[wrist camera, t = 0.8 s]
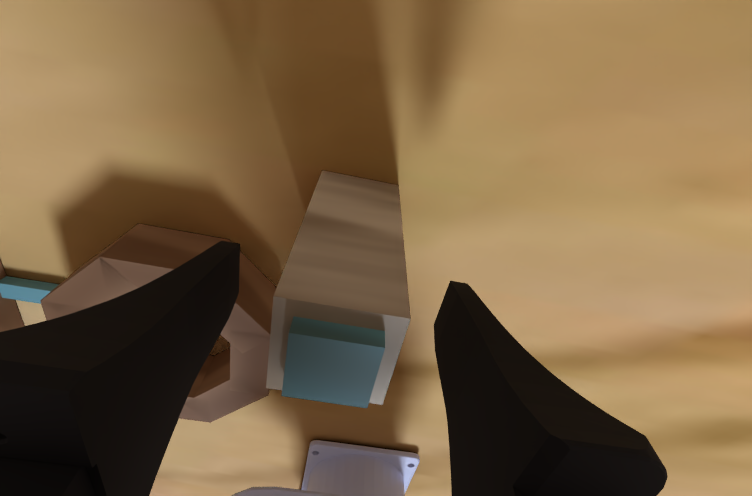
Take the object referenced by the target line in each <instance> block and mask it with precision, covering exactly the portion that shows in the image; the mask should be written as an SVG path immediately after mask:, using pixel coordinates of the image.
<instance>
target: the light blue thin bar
mask: <svg viewBox="0 0 752 496" xmlns="http://www.w3.org/2000/svg"><path fill="white" fill-rule="evenodd" d="M58 285H59V284H53V283H47V282H40V281H34V280H28V279H22V278H15V277H9V276H5V277H4V278H3V279H1V280H0V293H1V296H2V298H8V299H14V300H21V301H27V302H34V303H40V304H41V301H40V300H41V299H43V298H44V297H45V296H46V295H47V294H48V293H50V292H51V291H52V290H53V289H54V288H56V287H57V286H58Z"/></svg>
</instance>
